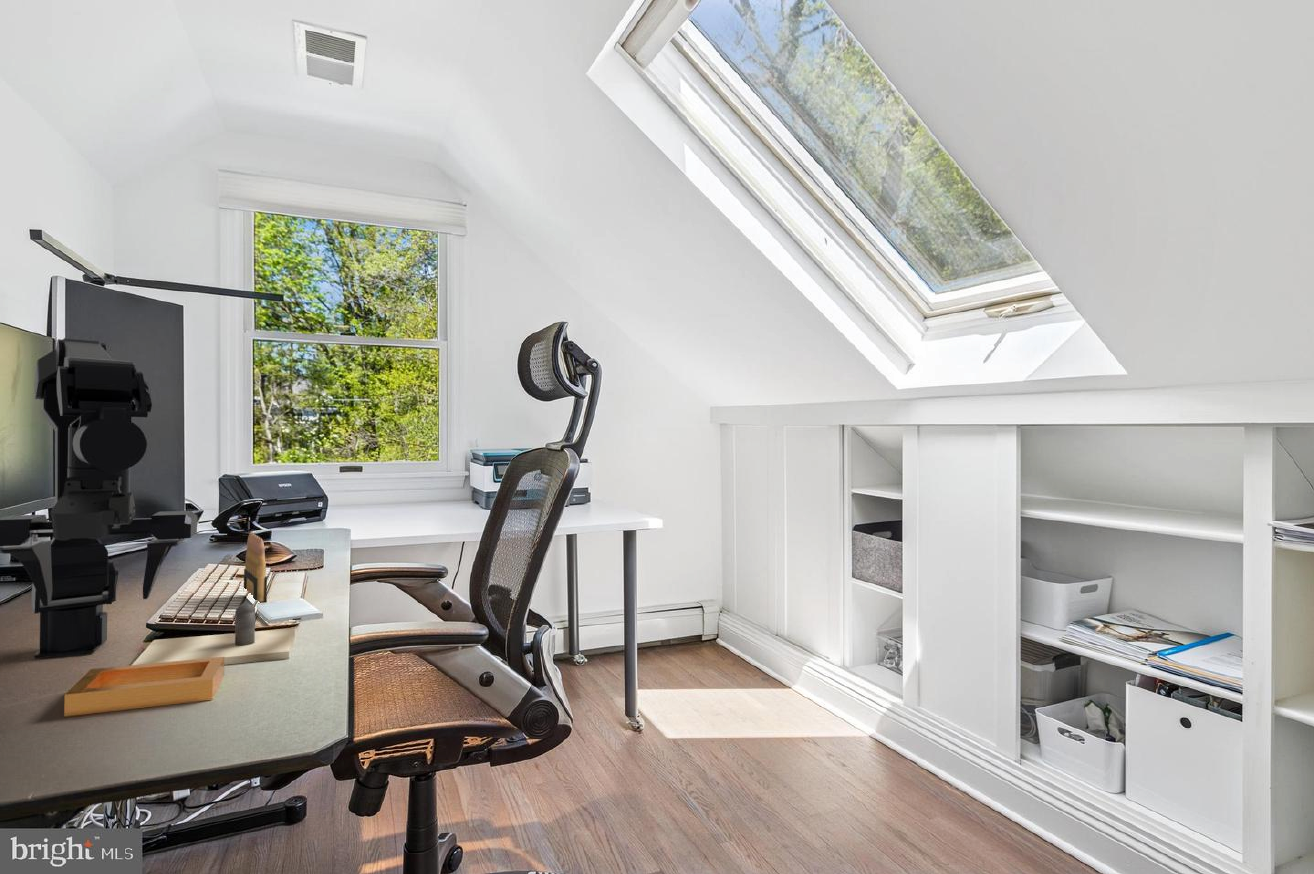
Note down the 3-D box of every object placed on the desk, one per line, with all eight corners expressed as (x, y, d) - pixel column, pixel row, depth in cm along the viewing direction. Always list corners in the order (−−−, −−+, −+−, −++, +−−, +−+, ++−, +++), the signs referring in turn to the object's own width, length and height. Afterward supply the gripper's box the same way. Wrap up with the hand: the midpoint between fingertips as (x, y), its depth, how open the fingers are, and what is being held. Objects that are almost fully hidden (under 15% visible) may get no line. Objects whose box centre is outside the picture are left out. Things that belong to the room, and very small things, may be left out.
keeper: (130, 673, 91) (131, 621, 91) (153, 646, 102) (154, 600, 102) (289, 658, 98) (289, 609, 98) (294, 634, 109) (295, 591, 109)
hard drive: (251, 604, 123) (268, 618, 114) (303, 597, 128) (323, 611, 119) (251, 613, 123) (268, 629, 114) (303, 606, 128) (323, 621, 119)
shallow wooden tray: (64, 716, 77) (64, 694, 77) (90, 689, 85) (91, 669, 85) (212, 699, 83) (212, 679, 83) (224, 675, 91) (224, 656, 91)
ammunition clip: (266, 605, 126) (267, 538, 126) (255, 607, 125) (256, 539, 125) (254, 594, 134) (255, 531, 134) (243, 595, 133) (244, 531, 133)
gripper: (-39, 471, 71) (-41, 627, 71) (184, 470, 79) (182, 610, 79) (5, 466, 81) (3, 603, 81) (198, 465, 89) (196, 590, 89)
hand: (97, 601), depth 82 cm, fingers open, 9 cm apart
